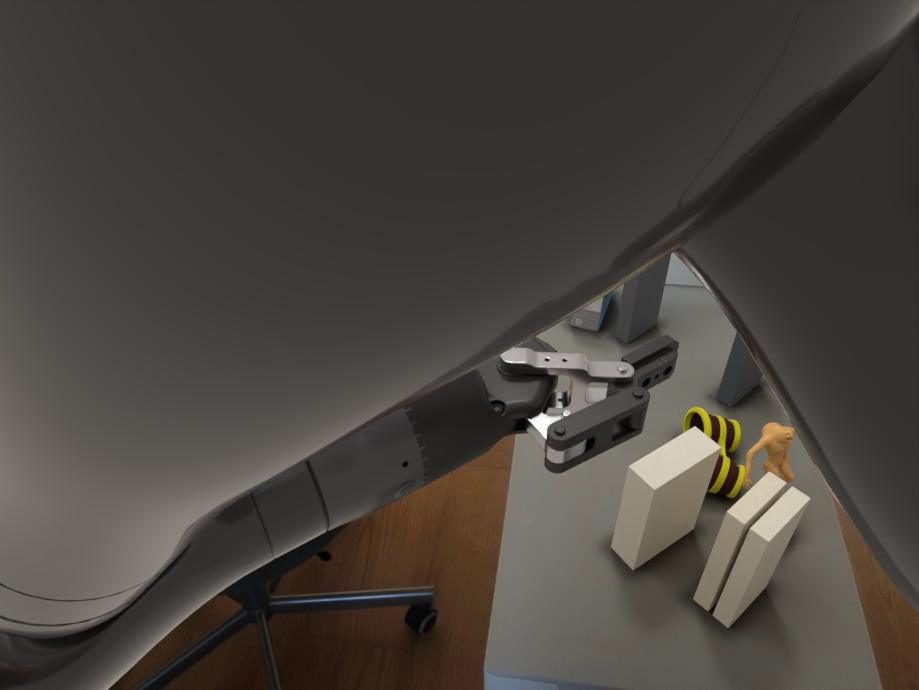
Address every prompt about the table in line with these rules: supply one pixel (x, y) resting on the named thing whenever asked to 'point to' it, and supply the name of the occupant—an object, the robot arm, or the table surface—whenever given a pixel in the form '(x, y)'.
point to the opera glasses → (728, 437)
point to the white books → (749, 547)
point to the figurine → (773, 452)
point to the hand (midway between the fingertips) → (619, 311)
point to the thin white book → (663, 496)
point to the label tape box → (591, 314)
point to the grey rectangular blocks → (642, 315)
